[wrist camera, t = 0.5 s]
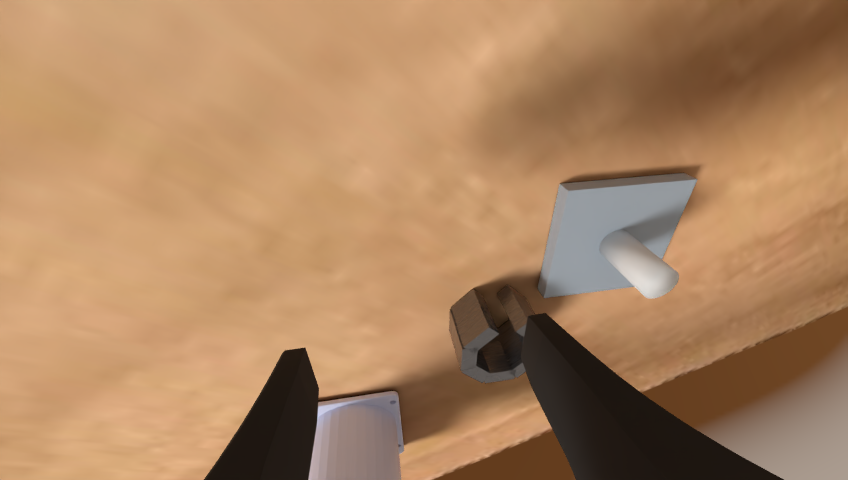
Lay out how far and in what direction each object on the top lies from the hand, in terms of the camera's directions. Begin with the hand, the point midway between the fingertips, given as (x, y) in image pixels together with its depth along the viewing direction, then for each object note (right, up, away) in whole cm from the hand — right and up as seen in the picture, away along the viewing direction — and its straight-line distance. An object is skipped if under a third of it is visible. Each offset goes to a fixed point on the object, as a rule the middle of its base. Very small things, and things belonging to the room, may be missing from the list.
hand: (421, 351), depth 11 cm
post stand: (+12, +4, +11) cm, 17 cm away
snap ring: (+5, -2, +14) cm, 15 cm away
